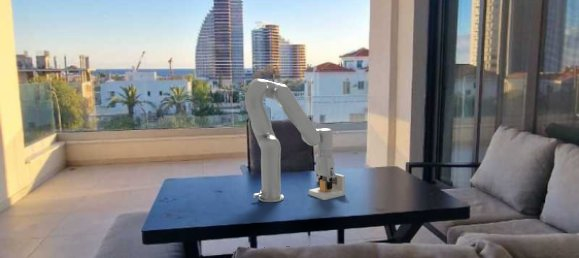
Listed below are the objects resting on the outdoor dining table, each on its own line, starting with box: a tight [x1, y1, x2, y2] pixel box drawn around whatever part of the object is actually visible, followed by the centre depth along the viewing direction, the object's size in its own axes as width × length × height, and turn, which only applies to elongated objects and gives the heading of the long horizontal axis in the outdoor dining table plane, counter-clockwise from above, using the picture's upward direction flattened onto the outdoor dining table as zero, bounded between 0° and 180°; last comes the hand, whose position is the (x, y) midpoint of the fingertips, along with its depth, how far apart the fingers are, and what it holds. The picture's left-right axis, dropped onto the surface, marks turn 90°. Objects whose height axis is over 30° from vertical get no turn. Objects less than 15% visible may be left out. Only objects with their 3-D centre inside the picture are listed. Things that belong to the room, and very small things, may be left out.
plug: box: [319, 176, 331, 193], centre depth 225 cm, size 4×4×10 cm
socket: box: [308, 172, 346, 201], centre depth 225 cm, size 14×12×10 cm
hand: (325, 187), depth 225 cm, fingers open, 6 cm apart
